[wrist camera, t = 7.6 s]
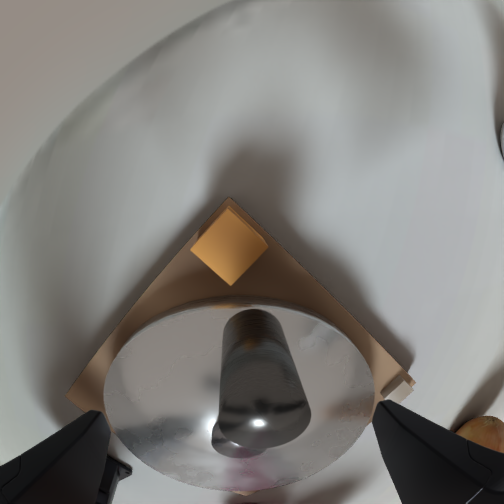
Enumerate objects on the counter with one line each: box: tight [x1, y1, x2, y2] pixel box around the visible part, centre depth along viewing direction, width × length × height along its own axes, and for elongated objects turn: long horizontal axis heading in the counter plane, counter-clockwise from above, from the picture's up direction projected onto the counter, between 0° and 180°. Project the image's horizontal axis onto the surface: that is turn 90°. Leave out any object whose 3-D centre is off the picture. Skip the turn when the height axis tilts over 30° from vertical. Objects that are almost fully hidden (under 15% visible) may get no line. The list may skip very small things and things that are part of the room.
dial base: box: [65, 197, 416, 496], centre depth 17 cm, size 20×20×4 cm
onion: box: [456, 416, 504, 453], centre depth 19 cm, size 10×10×10 cm
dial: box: [104, 295, 375, 491], centre depth 13 cm, size 18×18×8 cm
